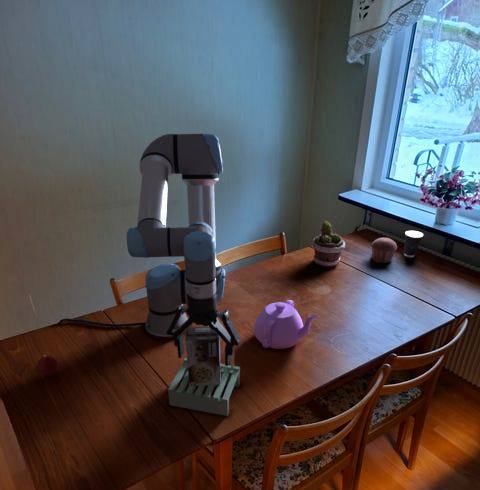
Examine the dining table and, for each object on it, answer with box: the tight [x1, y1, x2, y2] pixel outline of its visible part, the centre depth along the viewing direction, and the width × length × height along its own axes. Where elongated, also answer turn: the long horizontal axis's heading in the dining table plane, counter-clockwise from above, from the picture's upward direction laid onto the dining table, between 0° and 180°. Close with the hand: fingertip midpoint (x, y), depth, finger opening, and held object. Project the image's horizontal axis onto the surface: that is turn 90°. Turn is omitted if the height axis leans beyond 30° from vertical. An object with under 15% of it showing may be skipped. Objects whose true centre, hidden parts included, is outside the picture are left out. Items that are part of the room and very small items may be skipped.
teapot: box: [253, 299, 318, 350], centre depth 151 cm, size 22×22×14 cm
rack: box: [167, 351, 241, 417], centre depth 128 cm, size 17×14×13 cm
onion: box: [36, 354, 59, 377], centre depth 136 cm, size 6×6×8 cm
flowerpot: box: [311, 219, 346, 268], centre depth 201 cm, size 14×15×20 cm
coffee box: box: [184, 325, 222, 387], centre depth 124 cm, size 9×6×16 cm
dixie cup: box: [403, 230, 424, 258], centre depth 212 cm, size 8×8×11 cm
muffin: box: [370, 237, 398, 264], centre depth 208 cm, size 12×11×10 cm
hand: (204, 359), depth 125 cm, fingers open, 13 cm apart
